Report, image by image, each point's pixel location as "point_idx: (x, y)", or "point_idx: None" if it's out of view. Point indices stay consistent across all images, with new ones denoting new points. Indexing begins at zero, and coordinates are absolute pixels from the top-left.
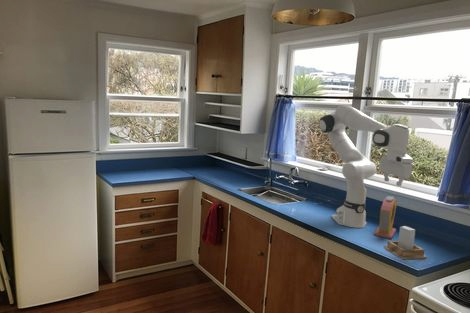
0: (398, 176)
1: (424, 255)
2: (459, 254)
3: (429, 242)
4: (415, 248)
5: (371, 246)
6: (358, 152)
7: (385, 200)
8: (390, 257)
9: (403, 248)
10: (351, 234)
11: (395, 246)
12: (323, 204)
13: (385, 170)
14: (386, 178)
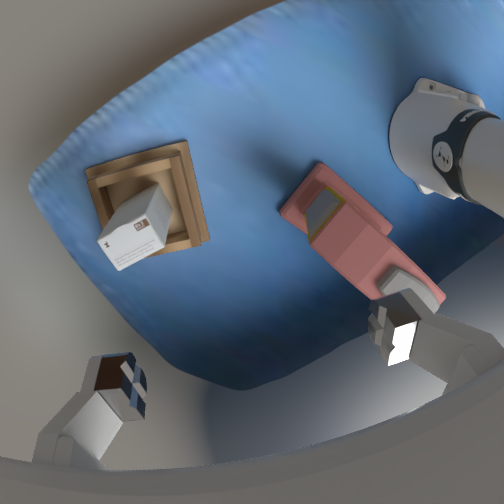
0: (40, 465)
1: None
2: (176, 358)
3: (258, 326)
4: None
5: (193, 91)
6: None
7: (401, 265)
8: (94, 128)
9: (133, 197)
10: (322, 66)
11: (131, 167)
12: None
13: (491, 409)
14: (392, 326)
